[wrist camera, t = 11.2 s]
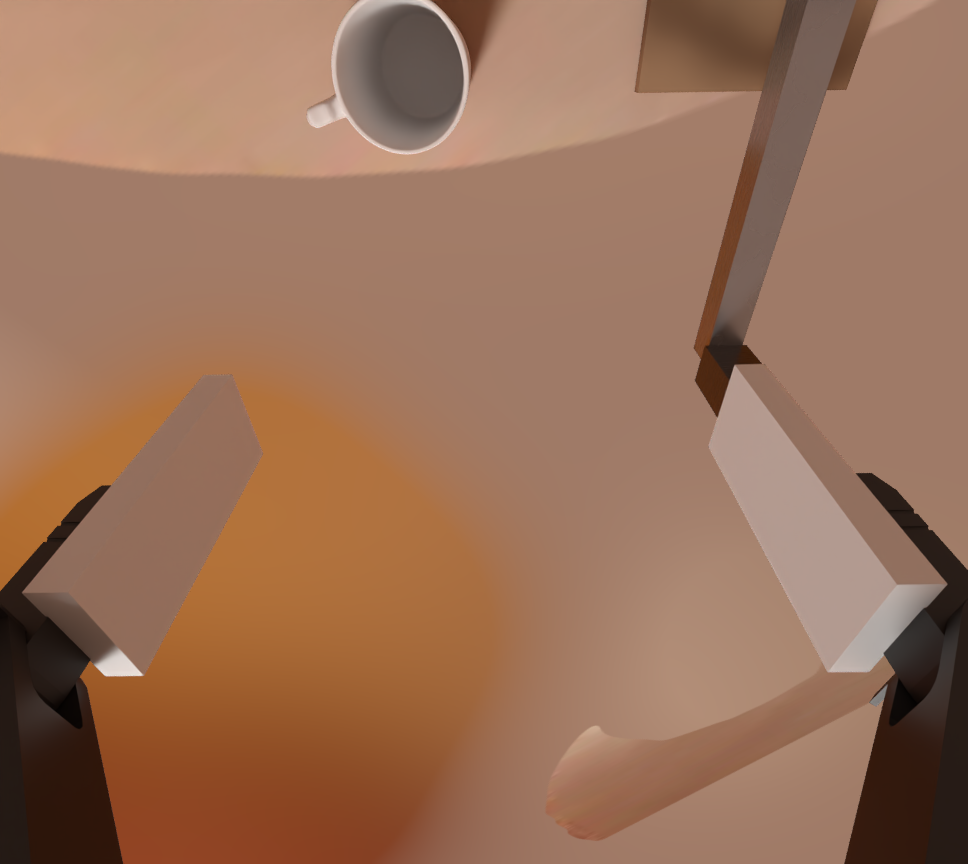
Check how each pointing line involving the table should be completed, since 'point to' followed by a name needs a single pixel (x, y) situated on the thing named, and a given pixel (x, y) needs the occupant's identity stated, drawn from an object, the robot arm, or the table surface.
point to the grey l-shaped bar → (767, 182)
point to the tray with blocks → (726, 45)
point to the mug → (397, 75)
